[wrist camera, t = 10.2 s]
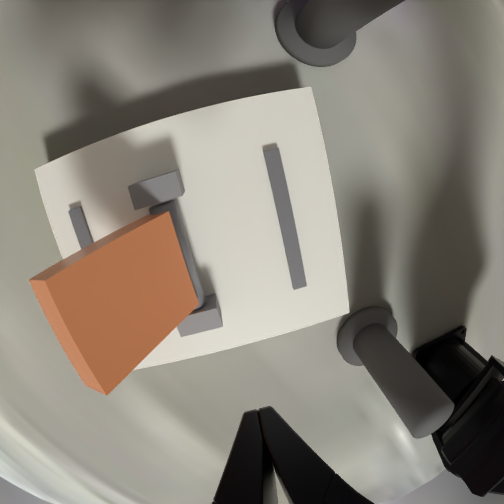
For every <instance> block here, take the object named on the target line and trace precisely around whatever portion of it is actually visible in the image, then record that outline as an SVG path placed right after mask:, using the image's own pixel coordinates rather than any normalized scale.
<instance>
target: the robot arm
mask: <svg viewBox="0 0 504 504" xmlns="http://www.w3.org/2000/svg"><path fill="white" fill-rule="evenodd" d="M465 336H466V328H465V327H464V326H461V327H459V328H457V329H455V330H453V331H451V332H449V333H447V334H445V335H443V336H442V337H440V338H438V339H436V340H434V341H432V342H429V343H427V344H425V345H423V346H421V347H419V348H417V349H416V350H415V351H414V354H413V358H414V359H415V360H416V361H417V362H418V363H419V365H420V366H421V367H422V368H423V369H424V370H425V371H426V372H427V374H428V375H429V376H430V377H431V378H432V379H433V380H434V381H435V383H436V384H437V385H438V386H439V387H440V388H441V389H442V391H443V392H444V393H445V394H446V395H447V396H448V397H449V399H450V400H451V401H452V402H453V403H454V409H453V412H452V414H451V415H450V417H449V418H448V420H447V421H446V422H445V423H444V424H443V425H442V426H441V427H440V428H439V429H437V430H436V431H435V432H433V433H431V435H432V437H433V441H434V443H435V445H436V448H437V450H438V452H439V455H440V457H441V459H442V462H443V464H444V466H445V468H446V469H447V470H448V471H449V472H451V473H453V474H454V475H456V476H457V477H460V478H462V479H463V481H464V482H465V483H466V485H467V486H468V488H469V489H470V491H471V492H472V493H473V494H475V495H478V496H481V497H484V496H485V495H486V494H487V493H494V494H500V495H504V381H502V380H503V378H504V362H502V361H501V360H499V359H497V358H496V357H494V356H492V355H491V357H490V358H489V360H488V361H487V360H486V359H484V358H483V357H482V356H481V355H480V354H479V353H478V352H477V351H475V350H474V349H473V348H472V347H471V346H470V345H469V344H467V343H466V342H465ZM273 466H274V467H273ZM274 469H275V472H276V474H277V477H278V479H279V481H280V484H281V486H282V488H283V491H284V493H285V495H286V497H287V499H288V502H289V504H374V503H373V502H371V501H370V500H368V499H367V498H365V497H364V496H362V495H361V494H360V493H358V492H357V491H356V490H354V489H353V488H352V487H351V486H350V485H349V484H347V483H346V482H345V481H344V480H343V479H342V478H341V477H340V476H339V475H338V474H335V472H334V471H333V470H332V469H331V468H330V467H329V466H328V465H327V464H326V463H325V462H324V461H323V460H322V459H321V458H320V457H319V456H318V455H317V454H316V453H315V452H314V451H313V450H312V449H311V448H310V447H309V446H308V445H307V444H306V443H305V442H304V441H303V440H302V438H301V437H300V436H299V435H298V434H297V433H296V432H295V431H294V430H293V429H292V428H291V427H290V426H289V425H288V424H287V423H286V422H285V420H284V419H283V418H282V417H281V416H280V415H279V414H278V413H277V412H276V411H275V410H274V408H273V407H271V406H267V407H263V408H260V409H258V410H251V411H246V412H244V414H243V416H242V419H241V422H240V425H239V428H238V431H237V434H236V437H235V440H234V443H233V446H232V449H231V452H230V455H229V458H228V460H227V463H226V466H225V469H224V472H223V474H222V477H221V480H220V483H219V486H218V488H217V491H216V494H215V497H214V499H213V500H214V501H213V502H212V504H278V497H277V489H276V480H275V472H274Z"/></svg>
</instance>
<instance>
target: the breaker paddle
mask: <svg viewBox="0 0 504 504" xmlns="http://www.w3.org/2000/svg"><path fill="white" fill-rule="evenodd" d="M148 210H149V213H150V215H146V216H144V217H142V218H140V219H138V220H136V221H134V222H132V223H130V224H128V225H126V226H124V227H122V228H120V229H118V230H116V231H114V232H112V233H111V234H109V235H107V236H105V237H103V238H101V239H99V240H97V241H96V242H94V243H92V244H90V245H88V246H86V247H85V248H83V249H81V250H79V251H77V252H76V253H74V254H72V255H70V256H69V257H67V258H65V259H63V260H61V261H60V262H58V263H56V264H55V265H53V266H51V267H49V268H48V269H46V270H44V271H43V272H41V273H39V274H38V275H36V276H34V277H33V278H31V279H29V281H30V283H31V286H32V288H33V290H34V292H35V295H36V297H37V299H38V301H39V303H40V305H41V307H42V309H43V312H44V314H45V316H46V318H47V320H48V322H49V323H50V325H51V327H52V329H53V331H54V333H55V335H56V337H57V339H58V340H59V342H60V344H61V346H62V347H63V349H64V351H65V353H66V354H67V356H68V358H69V360H70V361H71V363H72V365H73V366H74V368H75V369H76V371H77V373H78V374H79V376H80V377H81V379H82V381H83V382H84V384H85V385H86V386H88V387H90V388H92V389H94V390H96V391H98V392H100V393H102V394H105V395H108V394H109V393H110V392H111V391H112V390H113V389H114V388H115V387H116V386H117V385H118V384H119V383H120V382H121V381H122V380H123V379H124V378H125V377H126V376H127V375H128V374H129V373H130V372H131V371H132V370H133V369H134V368H135V367H136V366H137V365H138V364H139V363H140V362H141V361H142V360H143V359H144V358H145V357H146V356H147V355H149V354H150V353H151V352H152V351H153V350H154V349H155V348H156V347H157V346H158V345H159V344H160V343H161V342H162V341H163V340H164V339H165V338H166V337H167V336H168V335H169V334H170V333H171V332H172V331H173V330H174V329H175V328H176V327H177V326H178V325H179V324H180V323H181V322H182V321H183V320H184V319H185V318H186V317H187V316H188V315H189V314H190V313H191V312H192V311H193V310H194V309H197V308H199V307H201V306H203V305H204V304H205V303H206V297H205V294H204V291H203V288H202V285H201V282H200V279H199V276H198V273H197V270H196V267H195V264H194V261H193V258H192V254H191V251H190V248H189V245H188V242H187V238H186V235H185V232H184V228H183V225H182V222H181V218H180V215H179V212H178V208H177V205H176V201H175V200H170V201H166V202H162V203H159V204H157V205H154V206H152V207H150V208H148Z"/></svg>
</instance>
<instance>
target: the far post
mask: <svg viewBox="0 0 504 504" xmlns="http://www.w3.org/2000/svg"><path fill="white" fill-rule="evenodd" d="M396 335H397V322H396V320H395V318H394V317H393V316H392V315H391V314H390V313H389V312H388V311H387V310H385V309H384V308H381V307H376V306H375V307H367V308H364V309H362V310H360V311H358V312H356V313H355V314H353V315H352V316H351V317H350V318H349V319H348V320H347V321H346V322H345V323H344V325H343V326H342V328H341V330H340V332H339V334H338V338H337V347H338V350H339V352H340V354H341V355H342V357H343V359H344V360H345V361H346V362H347V363H349V364H351V365H356V366H362V365H364V366H365V367H366V369H367V370H368V372H369V373H370V374H371V376H372V377H373V379H374V380H375V382H376V383H377V385H378V386H379V388H380V389H381V390H382V392H383V393H384V395H385V396H386V398H387V399H388V401H389V402H390V404H391V405H392V407H393V408H394V409H395V411H396V412H397V414H398V415H399V417H400V418H401V420H402V421H403V423H404V424H405V426H406V427H407V429H408V430H409V432H410V433H411V435H412V436H413V437H414V438H417V439H418V438H423V437H426V436H428V435H430V434H431V433H433V432H435V431H436V430H437V429H439V428H440V427H441V426H442V425H443V424H444V423H445V422H446V421H447V420H448V418H449V417H450V415H451V414H452V412H453V409H454V403H453V402H452V401H451V400H450V399H449V397H448V396H447V395H446V394H445V393H444V392H443V391H442V389H441V388H440V387H439V386H438V385H437V384H436V383H435V381H434V380H433V379H432V378H431V377H430V376H429V375H428V374H427V372H426V371H425V370H424V369H423V368H422V367H421V366H420V365H419V363H418V362H417V361H416V360H415V359H414V358H413V357H412V356H411V355H410V354H409V352H408V351H407V350H406V349H405V348H404V347H403V346H402V345H401V344H400V343H399V342H398V340H397V339H396Z"/></svg>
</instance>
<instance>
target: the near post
mask: <svg viewBox="0 0 504 504" xmlns="http://www.w3.org/2000/svg"><path fill="white" fill-rule="evenodd" d="M403 1H405V0H290V1H289V2H288V3H286V4H285V5H284V7H283V8H282V10H281V11H280V13H279V15H278V17H277V20H276V26H275V28H276V34H277V37H278V40H279V42H280V44H281V45H282V47H283V48H284V49H285V50H286V52H287V53H289V54H290V55H291V56H292V57H293V58H295V59H296V60H298V61H300V62H302V63H304V64H307V65H311V66H317V67H326V66H331V65H334V64H336V63H338V62H340V61H342V60H343V59H345V58H346V57H348V56H349V55H350V53H351V52H352V51H353V49H354V47H355V43H356V31H357V30H359V29H360V28H362V27H363V26H365V25H366V24H368V23H369V22H371V21H372V20H374V19H375V18H377V17H378V16H380V15H382V14H383V13H385V12H386V11H388V10H390V9H391V8H393V7H395V6H396V5H398V4H400V3H401V2H403Z"/></svg>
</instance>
